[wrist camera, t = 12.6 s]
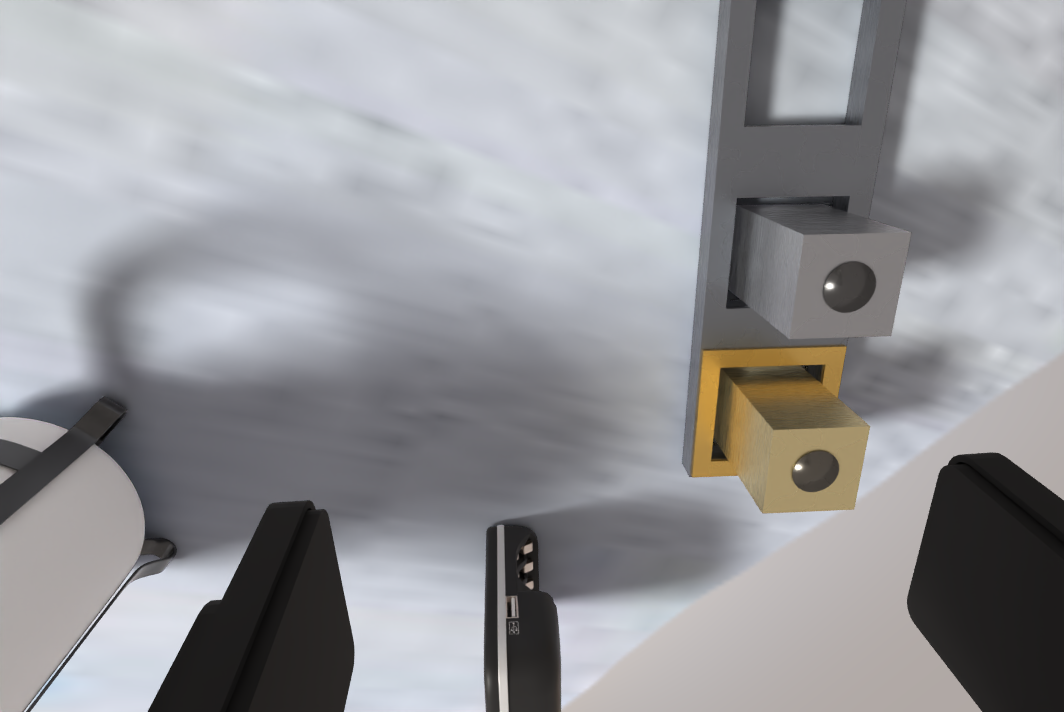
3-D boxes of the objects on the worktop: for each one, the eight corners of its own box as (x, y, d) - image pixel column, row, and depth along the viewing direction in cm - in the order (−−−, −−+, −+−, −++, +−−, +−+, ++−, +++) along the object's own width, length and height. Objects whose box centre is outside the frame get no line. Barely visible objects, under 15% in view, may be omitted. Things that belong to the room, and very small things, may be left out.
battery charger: (548, 606, 43) (566, 773, 32) (490, 609, 43) (489, 778, 32) (547, 517, 40) (566, 666, 30) (486, 519, 40) (482, 670, 30)
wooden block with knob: (718, 364, 37) (774, 431, 30) (795, 361, 38) (871, 427, 30) (711, 434, 39) (763, 514, 31) (786, 431, 39) (855, 510, 32)
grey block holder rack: (722, -33, 30) (736, -40, 28) (893, -33, 30) (916, -41, 29) (682, 462, 40) (690, 478, 38) (812, 458, 40) (826, 473, 38)
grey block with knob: (736, 205, 34) (804, 235, 27) (820, 203, 34) (913, 232, 27) (727, 289, 36) (790, 339, 28) (808, 286, 36) (892, 336, 28)
